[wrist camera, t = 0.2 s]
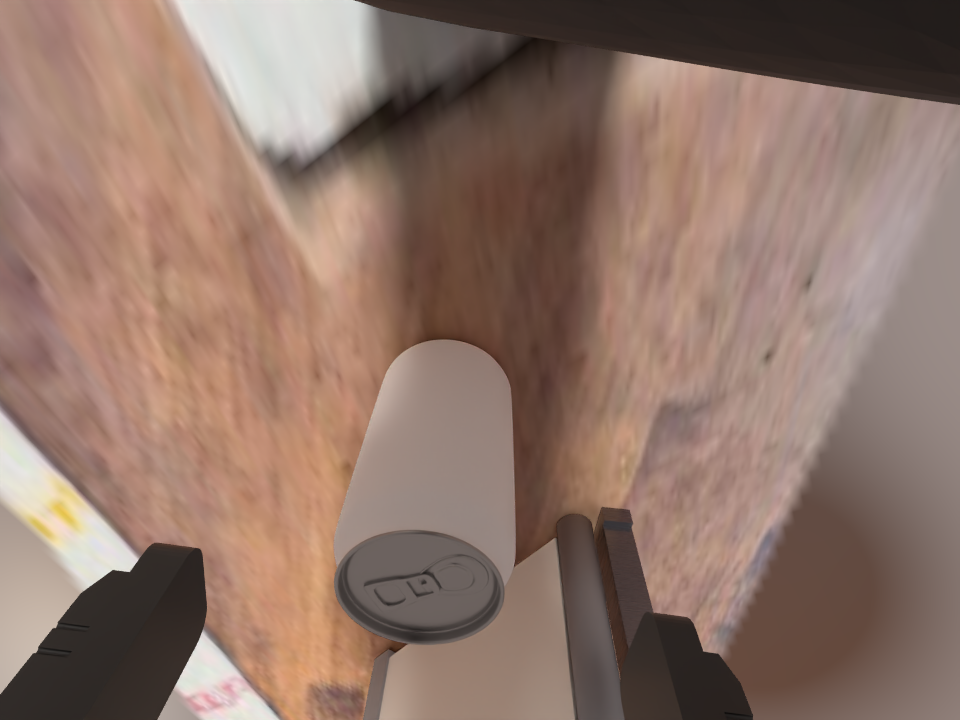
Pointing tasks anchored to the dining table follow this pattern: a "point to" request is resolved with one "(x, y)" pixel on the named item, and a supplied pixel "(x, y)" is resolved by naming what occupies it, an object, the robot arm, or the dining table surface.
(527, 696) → the gate
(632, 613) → the gate frame
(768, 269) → the dining table surface
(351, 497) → the can
